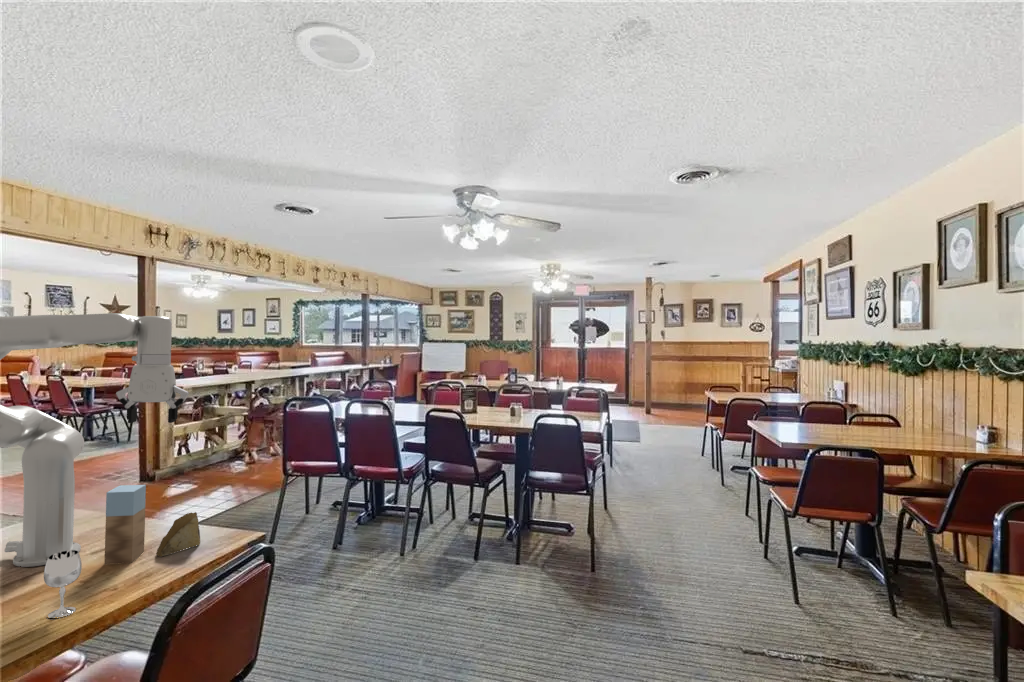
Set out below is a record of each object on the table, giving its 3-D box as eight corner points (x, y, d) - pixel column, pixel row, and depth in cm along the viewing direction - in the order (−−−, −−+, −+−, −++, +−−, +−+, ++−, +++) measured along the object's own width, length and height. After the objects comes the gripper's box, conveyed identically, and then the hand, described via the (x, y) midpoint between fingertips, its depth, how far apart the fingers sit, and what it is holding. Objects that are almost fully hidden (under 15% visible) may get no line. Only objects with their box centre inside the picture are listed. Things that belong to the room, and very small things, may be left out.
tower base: (104, 564, 122) (105, 540, 122) (117, 554, 128) (118, 531, 128) (131, 562, 124) (132, 539, 124) (143, 552, 130) (144, 530, 130)
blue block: (105, 516, 123) (106, 492, 123) (119, 508, 128) (119, 485, 128) (133, 515, 124) (134, 491, 124) (145, 507, 130) (145, 484, 130)
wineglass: (47, 609, 102) (49, 552, 102) (83, 603, 105) (85, 547, 105) (37, 624, 97) (39, 563, 97) (75, 616, 100) (77, 557, 100)
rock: (153, 554, 124) (199, 541, 129) (151, 521, 128) (196, 510, 133) (159, 565, 132) (203, 552, 137) (157, 533, 136) (200, 522, 141)
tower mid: (105, 540, 122) (105, 516, 122) (118, 531, 128) (119, 508, 128) (132, 539, 124) (133, 515, 124) (144, 530, 130) (145, 507, 130)
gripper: (110, 360, 130) (108, 424, 130) (183, 361, 134) (181, 424, 134) (125, 359, 138) (123, 420, 138) (194, 360, 142) (192, 419, 142)
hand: (152, 422), depth 136 cm, fingers open, 9 cm apart
